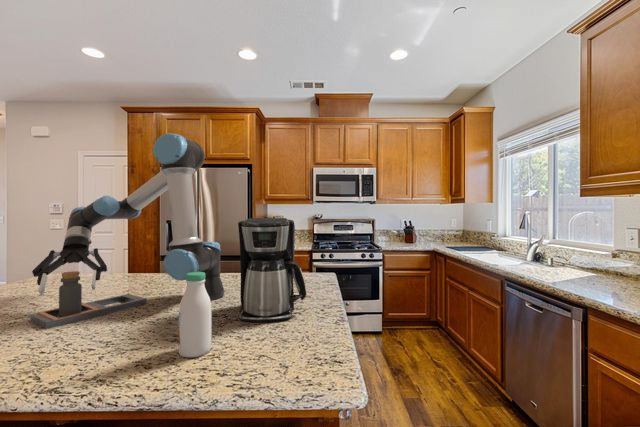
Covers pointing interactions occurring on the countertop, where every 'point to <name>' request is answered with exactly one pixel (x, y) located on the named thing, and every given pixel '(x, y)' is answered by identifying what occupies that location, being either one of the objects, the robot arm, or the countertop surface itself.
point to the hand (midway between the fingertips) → (67, 290)
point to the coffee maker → (268, 269)
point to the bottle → (70, 294)
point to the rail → (86, 311)
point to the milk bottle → (195, 317)
